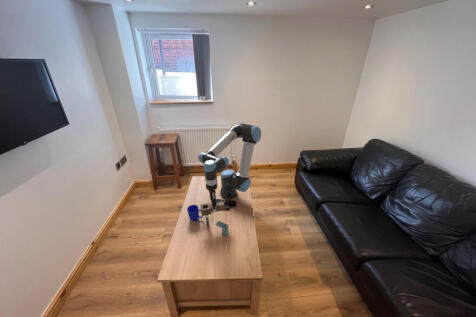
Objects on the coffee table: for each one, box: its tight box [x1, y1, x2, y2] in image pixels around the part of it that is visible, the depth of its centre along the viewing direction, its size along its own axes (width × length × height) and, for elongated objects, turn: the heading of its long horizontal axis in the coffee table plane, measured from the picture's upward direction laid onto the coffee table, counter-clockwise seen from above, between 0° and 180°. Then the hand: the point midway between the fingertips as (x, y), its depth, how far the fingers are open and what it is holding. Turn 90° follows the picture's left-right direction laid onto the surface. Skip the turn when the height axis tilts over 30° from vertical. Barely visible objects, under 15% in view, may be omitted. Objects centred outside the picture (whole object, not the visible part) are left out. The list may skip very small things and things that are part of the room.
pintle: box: [204, 215, 210, 226], centre depth 140 cm, size 2×2×8 cm
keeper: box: [215, 220, 229, 237], centre depth 133 cm, size 4×8×7 cm, turn 57°
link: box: [199, 201, 226, 217], centre depth 136 cm, size 16×6×5 cm, turn 107°
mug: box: [186, 204, 204, 222], centre depth 145 cm, size 8×12×10 cm
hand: (213, 210), depth 137 cm, fingers closed on link, 3 cm apart
